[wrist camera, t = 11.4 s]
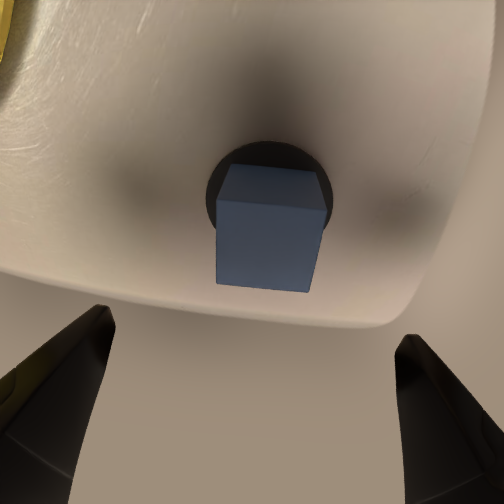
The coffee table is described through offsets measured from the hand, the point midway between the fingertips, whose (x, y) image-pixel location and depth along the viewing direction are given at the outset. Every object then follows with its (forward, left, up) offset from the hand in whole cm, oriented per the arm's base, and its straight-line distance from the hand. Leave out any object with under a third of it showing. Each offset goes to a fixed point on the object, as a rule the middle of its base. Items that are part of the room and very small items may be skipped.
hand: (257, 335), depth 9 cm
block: (0, 0, -8) cm, 8 cm away
